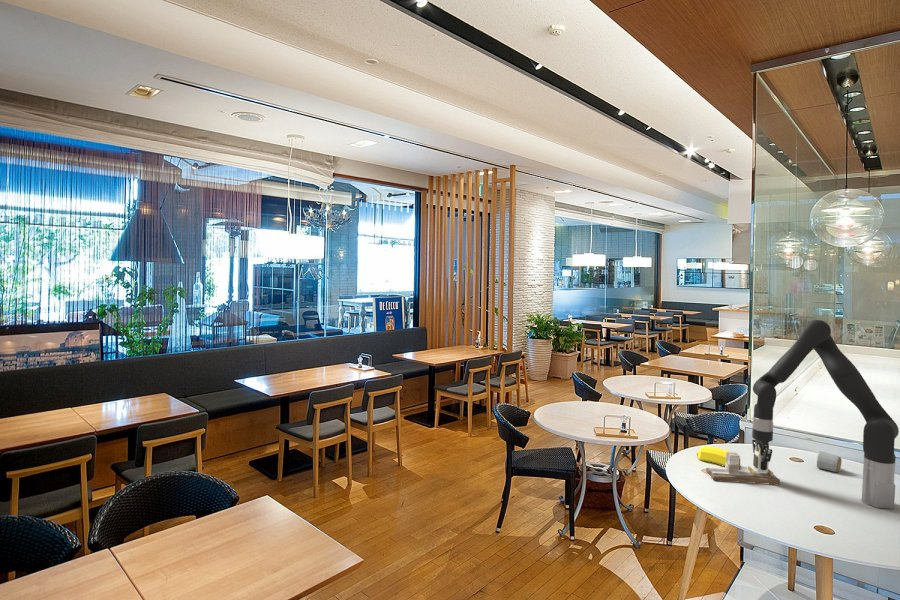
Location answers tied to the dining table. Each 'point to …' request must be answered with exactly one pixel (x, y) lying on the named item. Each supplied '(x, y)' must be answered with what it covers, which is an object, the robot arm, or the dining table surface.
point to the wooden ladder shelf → (740, 472)
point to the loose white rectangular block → (758, 462)
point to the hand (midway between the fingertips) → (761, 467)
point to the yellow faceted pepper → (712, 455)
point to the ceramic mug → (828, 461)
